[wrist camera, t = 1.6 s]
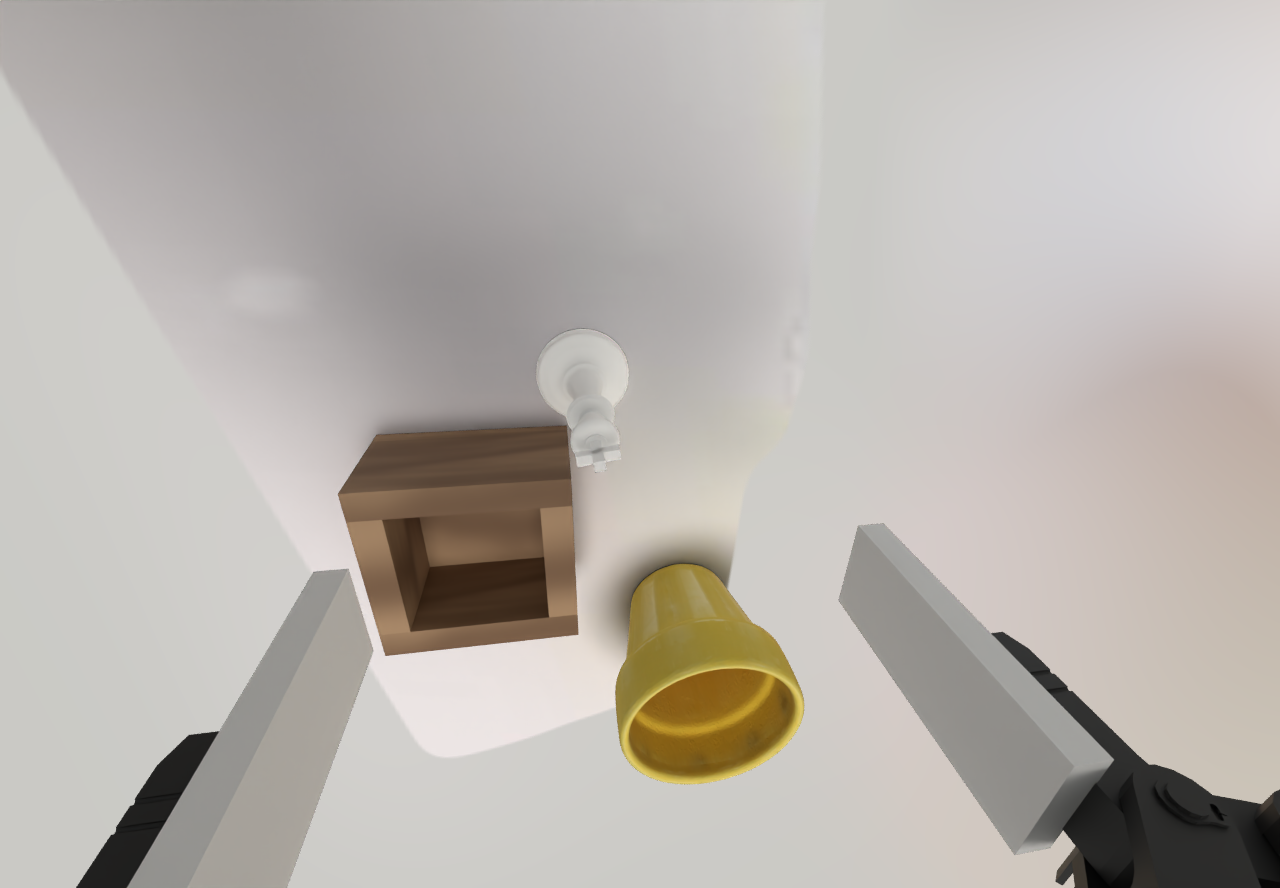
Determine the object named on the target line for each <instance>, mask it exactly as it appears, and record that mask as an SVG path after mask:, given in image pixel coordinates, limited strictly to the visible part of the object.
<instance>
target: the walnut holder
mask: <svg viewBox="0 0 1280 888" xmlns="http://www.w3.org/2000/svg"><path fill="white" fill-rule="evenodd" d="M338 496H339V500H340V503H341V507H342V510H343V513H344V517H345V520H346V524H347V527H348V530H349V534H350V537H351V541H352V544H353V547H354V551H355V554H356V558H357V561H358V564H359V568H360V571H361V574H362V578H363V581H364V585H365V588H366V591H367V595H368V598H369V602H370V605H371V608H372V612H373V615H374V619H375V622H376V625H377V629H378V632H379V636H380V639H381V642H382V646H383V649H384V652H385V656H389V655H398V654H407V653H416V652H425V651H434V650H443V649H452V648H461V647H470V646H479V645H489V644H498V643H507V642H516V641H525V640H534V639H543V638H552V637H561V636H570V635H578V616H577V595H576V574H575V553H574V532H573V510H572V489H571V473H570V461H569V448H568V436H567V426H547V427H527V428H507V429H486V430H466V431H446V432H426V433H405V434H385V435H376V436H375V438H374V439H373V441H372V443H371V444H370V446H369V447H368V449H367V450H366V452H365V453H364V455H363V456H362V458H361V459H360V461H359V462H358V464H357V465H356V467H355V469H354V470H353V472H352V473H351V475H350V476H349V478H348V479H347V481H346V482H345V484H344V485H343V487H342V488H341V490H340V491H339V493H338Z"/></svg>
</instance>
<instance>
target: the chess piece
mask: <svg viewBox="0 0 1280 888" xmlns="http://www.w3.org/2000/svg"><path fill="white" fill-rule="evenodd" d="M628 379H629V369H628V363H627V359H626V357H625V354H624V352H623V351H622V349H621V348H620V346H619V345H618V344H617V343H616V342H615V341H614V340H613V339H611V338H610V337H609V336H607V335H605V334H603V333H601V332H598V331H595V330H590V329H575V330H570V331H567V332H564V333H562V334H560V335H558V336H556V337H555V338H554V339H552V340H551V341H550V342H549V343H548V344H547V345H546V346H545V348H544V349H543V351H542V352H541V354H540V356H539V359H538V362H537V366H536V380H537V384H538V387H539V390H540V393H541V395H542V397H543V398H544V400H545V401H546V403H547V404H548V405H549V406H550V407H551V408H552V409H553V410H555V411H556V412H558V413H559V414H561V415H563V416H566V419H567V423H568V426H569V428H570V429H571V430H572V433H571V437H570V445H571V449H572V451H573V453H574V454H575V458H576V463H577V468H578V467H583V466H588V465H594V469H595V473H597V472H603V471H607V469H606V463H605V462H610V461H615V460H621V454H620V448H619V445H620V434H619V431H618V429H617V428H616V426H615V425H614V424H613V423H614V420H615V411H614V407H616V406H617V404H618V403H619V402H620V401H621V399H622V398H623V396H624V394H625V392H626V389H627V386H628Z"/></svg>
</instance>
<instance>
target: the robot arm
mask: <svg viewBox="0 0 1280 888" xmlns="http://www.w3.org/2000/svg"><path fill="white" fill-rule="evenodd" d="M839 602H840V603H841V605H842V606H843V608H844V609H845V611H846V612H847V613H848V615H849V616H850V618H851V619H852V621H853V622H854V624H855V625H856V626H857V628H858V629H859V631H860V632H861V634H862V635H863V637H864V638H865V639H866V641H867V642H868V644H869V645H870V647H871V648H872V650H873V651H874V653H875V654H876V655H877V657H878V658H879V660H880V661H881V663H882V664H883V665H884V667H885V668H886V670H887V671H888V673H889V674H890V676H891V677H892V679H893V680H894V681H895V683H896V684H897V686H898V687H899V689H900V690H901V691H902V693H903V694H904V696H905V697H906V699H907V700H908V702H909V703H910V705H911V706H912V707H913V709H914V710H915V712H916V713H917V715H918V716H919V717H920V719H921V720H922V722H923V723H924V725H925V726H926V728H927V729H928V731H929V732H930V733H931V735H932V736H933V738H934V739H935V741H936V742H937V743H938V745H939V746H940V748H941V749H942V751H943V752H944V754H945V755H946V757H947V758H948V759H949V761H950V762H951V764H952V765H953V767H954V768H955V770H956V771H957V773H958V774H959V775H960V777H961V778H962V780H963V781H964V783H965V784H966V786H967V787H968V788H969V790H970V791H971V793H972V794H973V796H974V797H975V799H976V800H977V801H978V803H979V804H980V806H981V807H982V809H983V810H984V812H985V813H986V814H987V816H988V817H989V819H990V820H991V822H992V823H993V824H994V826H995V828H996V829H997V830H998V832H999V833H1000V835H1001V836H1002V837H1003V839H1004V841H1005V842H1006V843H1007V845H1008V846H1009V848H1010V849H1011V851H1012V852H1013V853H1014V855H1018V854H1023V853H1028V852H1033V851H1038V850H1043V849H1048V848H1050V847H1051V846H1052V845H1053V843H1054V842H1055V840H1056V839H1057V838H1058V836H1059V835H1060V834H1061V832H1062V831H1063V830H1064V832H1065V833H1066V834H1067V835H1068V837H1069V838H1070V839H1071V840H1072V842H1073V843H1074V844H1075V845H1076V847H1075V848H1074V849H1073V851H1072V852H1071V853H1070V855H1069V856H1068V857H1067V859H1066V860H1065V861H1064V863H1063V864H1062V865H1061V866H1060V868H1059V869H1058V870H1057V875H1056V882H1057V883H1059V884H1061V885H1063V884H1064V883H1065V882H1066V881H1067V879H1068V878H1069V877H1070V876H1071V874H1072V873H1073V875H1074V882H1075V887H1074V888H1280V790H1278V791H1276V792H1274V793H1273V794H1272V795H1271V796H1270V797H1269V798H1268V799H1267V800H1266V801H1265V802H1264V803H1263V804H1258V803H1252V802H1247V801H1242V800H1236V799H1231V798H1225V797H1220V796H1214V795H1212V794H1210V793H1209V792H1208V791H1206V790H1205V789H1204V788H1203V787H1201V786H1199V785H1198V784H1197V783H1196V782H1194V781H1193V780H1191V779H1189V778H1187V777H1186V776H1184V775H1182V774H1180V773H1177V772H1176V771H1174V770H1171V769H1168V768H1164V767H1161V766H1158V765H1149V764H1147V763H1146V762H1145V761H1144V760H1143V759H1142V758H1141V757H1139V756H1138V755H1137V754H1136V753H1135V752H1134V751H1133V750H1132V749H1131V748H1130V747H1129V746H1128V745H1127V744H1126V743H1125V742H1124V741H1123V740H1122V739H1121V738H1120V737H1119V736H1118V735H1116V733H1114V731H1113V730H1112V729H1110V728H1109V727H1108V726H1107V725H1106V724H1105V723H1104V722H1103V721H1102V720H1101V719H1100V718H1099V717H1098V716H1097V715H1096V714H1095V713H1094V712H1093V711H1092V710H1091V709H1090V708H1089V707H1088V706H1087V705H1086V704H1085V703H1084V702H1083V701H1082V700H1081V699H1080V698H1079V697H1078V696H1077V695H1076V694H1075V693H1074V692H1073V691H1069V690H1068V688H1067V686H1066V685H1065V684H1064V683H1063V682H1062V681H1061V680H1060V679H1059V678H1058V677H1057V676H1056V675H1055V674H1052V673H1051V672H1050V669H1049V668H1048V667H1047V666H1046V665H1045V664H1044V663H1043V662H1042V661H1041V660H1040V659H1039V658H1038V657H1037V656H1036V655H1035V654H1034V653H1032V652H1031V650H1030V649H1028V648H1027V647H1025V646H1024V645H1022V644H1021V643H1019V642H1018V641H1016V640H1014V639H1013V638H1011V637H1010V636H1008V635H1006V634H1005V633H1003V632H998V633H990V632H989V631H988V630H987V629H986V628H985V627H984V626H983V625H982V624H981V623H980V622H979V621H978V620H977V619H976V618H975V617H974V616H973V615H972V613H970V611H969V610H968V609H967V608H966V607H965V606H964V605H963V604H962V603H961V602H960V601H959V600H958V599H957V598H956V597H955V596H954V595H953V594H952V593H951V592H950V591H949V590H948V589H947V588H946V587H945V586H944V585H943V584H942V583H941V582H940V581H939V580H938V579H937V578H936V577H935V576H934V575H933V574H932V573H931V572H930V570H929V569H928V568H927V567H926V566H924V564H923V563H922V562H921V561H920V560H919V559H918V558H917V557H916V556H915V555H914V554H913V553H912V552H911V551H910V550H909V549H908V548H907V547H906V546H905V545H904V544H903V543H902V542H901V541H900V540H899V539H898V538H897V537H896V536H895V535H894V534H893V533H892V532H891V531H890V529H888V527H887V526H886V525H885V524H883V523H882V524H871V525H859V526H858V528H857V532H856V536H855V540H854V543H853V547H852V551H851V555H850V558H849V563H848V567H847V570H846V574H845V577H844V581H843V585H842V589H841V593H840V596H839ZM372 653H373V648H372V644H371V641H370V638H369V634H368V631H367V628H366V625H365V621H364V618H363V615H362V611H361V608H360V605H359V602H358V598H357V595H356V592H355V589H354V585H353V582H352V579H351V575H350V572H349V569H341V570H329V571H317V572H313V574H312V575H311V577H310V579H309V580H308V582H307V584H306V586H305V587H304V589H303V591H302V592H301V594H300V596H299V597H298V599H297V601H296V602H295V604H294V606H293V608H292V609H291V611H290V613H289V614H288V616H287V618H286V620H285V621H284V623H283V625H282V626H281V628H280V630H279V631H278V633H277V635H276V636H275V638H274V640H273V641H272V643H271V645H270V647H269V648H268V650H267V652H266V653H265V655H264V657H263V658H262V660H261V662H260V664H259V665H258V667H257V668H256V670H255V672H254V674H253V675H252V677H251V679H250V680H249V682H248V684H247V686H246V687H245V689H244V690H243V692H242V694H241V696H240V697H239V699H238V701H237V702H236V704H235V706H234V708H233V709H232V711H231V713H230V714H229V716H228V718H227V719H226V721H225V723H224V724H223V726H222V728H221V729H220V731H217V732H210V733H201V734H194V735H189V736H187V737H186V738H185V739H184V740H183V741H182V742H181V743H180V744H179V745H178V746H177V747H176V748H175V749H174V750H173V751H172V752H171V753H170V754H169V755H167V756H166V757H165V758H164V759H163V760H162V761H161V762H160V763H159V764H158V765H157V767H156V768H155V769H154V771H153V772H152V774H151V775H150V777H149V778H148V780H147V781H146V783H145V785H144V786H143V788H142V789H141V790H140V792H139V794H138V795H137V797H136V798H135V803H134V805H132V806H130V807H129V809H128V810H127V812H126V813H125V815H124V816H123V818H122V820H121V821H120V822H119V824H118V825H117V827H116V832H115V834H114V835H111V836H110V838H109V839H108V840H107V842H106V843H105V845H104V847H103V848H102V849H101V851H100V852H99V854H98V855H97V857H96V859H95V860H94V861H93V863H92V865H91V866H90V867H89V869H88V871H87V872H86V874H85V875H84V877H83V878H82V880H81V881H80V883H79V884H78V886H77V887H76V888H287V886H288V883H289V881H290V877H291V875H292V872H293V870H294V867H295V864H296V862H297V859H298V856H299V853H300V851H301V848H302V845H303V842H304V839H305V837H306V834H307V831H308V829H309V826H310V823H311V820H312V818H313V815H314V812H315V810H316V806H317V804H318V801H319V799H320V796H321V793H322V790H323V788H324V785H325V782H326V779H327V777H328V774H329V771H330V768H331V766H332V763H333V760H334V758H335V755H336V752H337V749H338V747H339V744H340V741H341V738H342V735H343V733H344V730H345V727H346V725H347V722H348V719H349V716H350V714H351V711H352V708H353V705H354V703H355V700H356V697H357V695H358V692H359V689H360V686H361V684H362V681H363V678H364V675H365V673H366V670H367V667H368V664H369V662H370V659H371V656H372Z"/></svg>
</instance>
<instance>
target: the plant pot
mask: <svg viewBox="0 0 1280 888" xmlns="http://www.w3.org/2000/svg"><path fill="white" fill-rule="evenodd" d="M615 695H616V713H617V723H618V730H619V731H618V732H619V739H620V745H621V748H622V751H623V753H624V755H625V757H626V759H627V760H628V761H629V763H630V764H631V765H632V766H633V767H634V768H635V769H636V770H638V771H639V772H641V773H642V774H644V775H646V776H648V777H650V778H653V779H655V780H659V781H662V782H667V783H674V784H701V783H709V782H714V781H719V780H723V779H727V778H730V777H733V776H736V775H739V774H742V773H744V772H746V771H749V770H751V769H753V768H755V767H757V766H759V765H761V764H762V763H764V762H765V761H767V760H769V759H770V758H771V757H773V756H774V755H775V754H777V753H778V752H779V751H780V750H781V749H782V748H784V747H785V746H786V745H787V744H788V742H789V741H790V740H791V739H792V737H793V736H794V734H795V733H796V731H797V729H798V727H799V726H800V724H801V721H802V718H803V714H804V699H803V695H802V691H801V688H800V686H799V684H798V682H797V679H796V677H795V675H794V673H793V671H792V669H791V667H790V665H789V663H788V661H787V659H786V657H785V655H784V653H783V651H782V650H781V648H780V646H779V645H778V643H777V642H776V640H775V639H774V638H773V637H772V636H771V635H770V634H769V633H768V632H767V631H765V630H764V629H763V628H761V627H759V626H757V625H755V624H753V623H752V622H751V620H750V619H749V618H748V617H747V615H746V614H745V613H744V611H743V610H742V609H741V607H740V606H739V605H738V603H737V602H736V601H735V599H734V598H733V597H732V595H731V594H730V593H729V591H728V590H727V589H726V587H725V586H724V584H723V583H722V582H721V581H720V579H719V578H718V577H717V576H716V575H715V574H714V573H713V572H712V571H710V570H708V569H707V568H704V567H702V566H698V565H694V564H675V565H671V566H667V567H664V568H662V569H659V570H657V571H655V572H654V573H652V574H651V575H649V576H648V577H646V578H645V579H644V580H643V581H642V582H641V583H640V584H639V586H638V587H637V588H636V590H635V592H634V594H633V597H632V601H631V609H630V623H629V634H628V646H627V657H626V661H625V662H624V664H623V665H622V667H621V669H620V672H619V675H618V677H617V681H616V690H615Z"/></svg>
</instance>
